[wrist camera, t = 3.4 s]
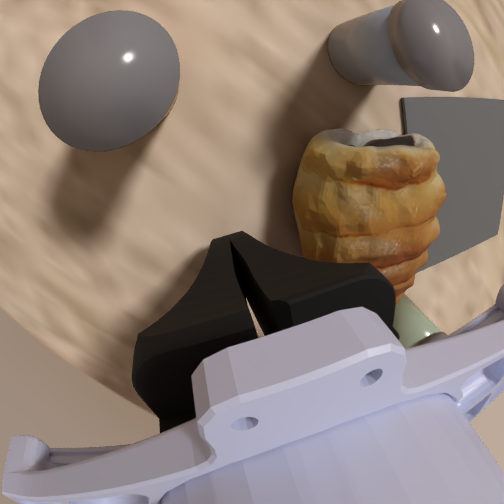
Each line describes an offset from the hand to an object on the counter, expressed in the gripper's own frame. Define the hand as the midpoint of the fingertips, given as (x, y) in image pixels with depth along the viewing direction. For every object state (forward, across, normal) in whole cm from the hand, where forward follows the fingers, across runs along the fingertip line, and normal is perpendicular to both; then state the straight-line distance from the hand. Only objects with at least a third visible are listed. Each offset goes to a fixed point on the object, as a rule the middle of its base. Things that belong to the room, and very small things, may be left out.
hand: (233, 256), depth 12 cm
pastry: (+1, -6, 0) cm, 6 cm away
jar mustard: (+1, +2, -7) cm, 7 cm away
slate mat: (+1, -14, 0) cm, 14 cm away
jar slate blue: (+1, -7, -7) cm, 10 cm away
